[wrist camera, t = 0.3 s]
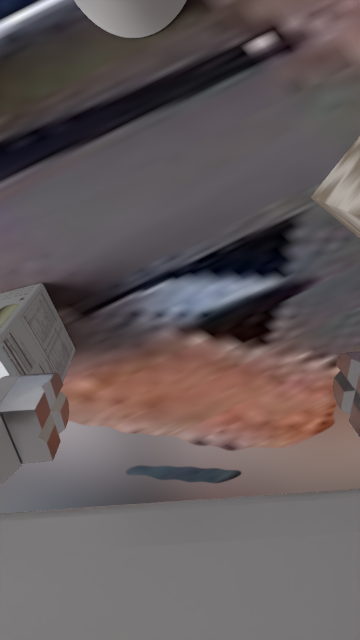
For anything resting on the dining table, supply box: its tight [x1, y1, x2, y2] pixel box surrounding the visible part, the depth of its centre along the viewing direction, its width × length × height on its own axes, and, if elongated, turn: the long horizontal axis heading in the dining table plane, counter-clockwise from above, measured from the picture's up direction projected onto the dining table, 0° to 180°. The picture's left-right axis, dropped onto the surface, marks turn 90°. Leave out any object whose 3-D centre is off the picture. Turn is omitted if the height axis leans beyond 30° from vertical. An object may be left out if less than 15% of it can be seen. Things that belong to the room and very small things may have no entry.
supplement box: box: [0, 283, 75, 383], centre depth 45 cm, size 13×13×18 cm
